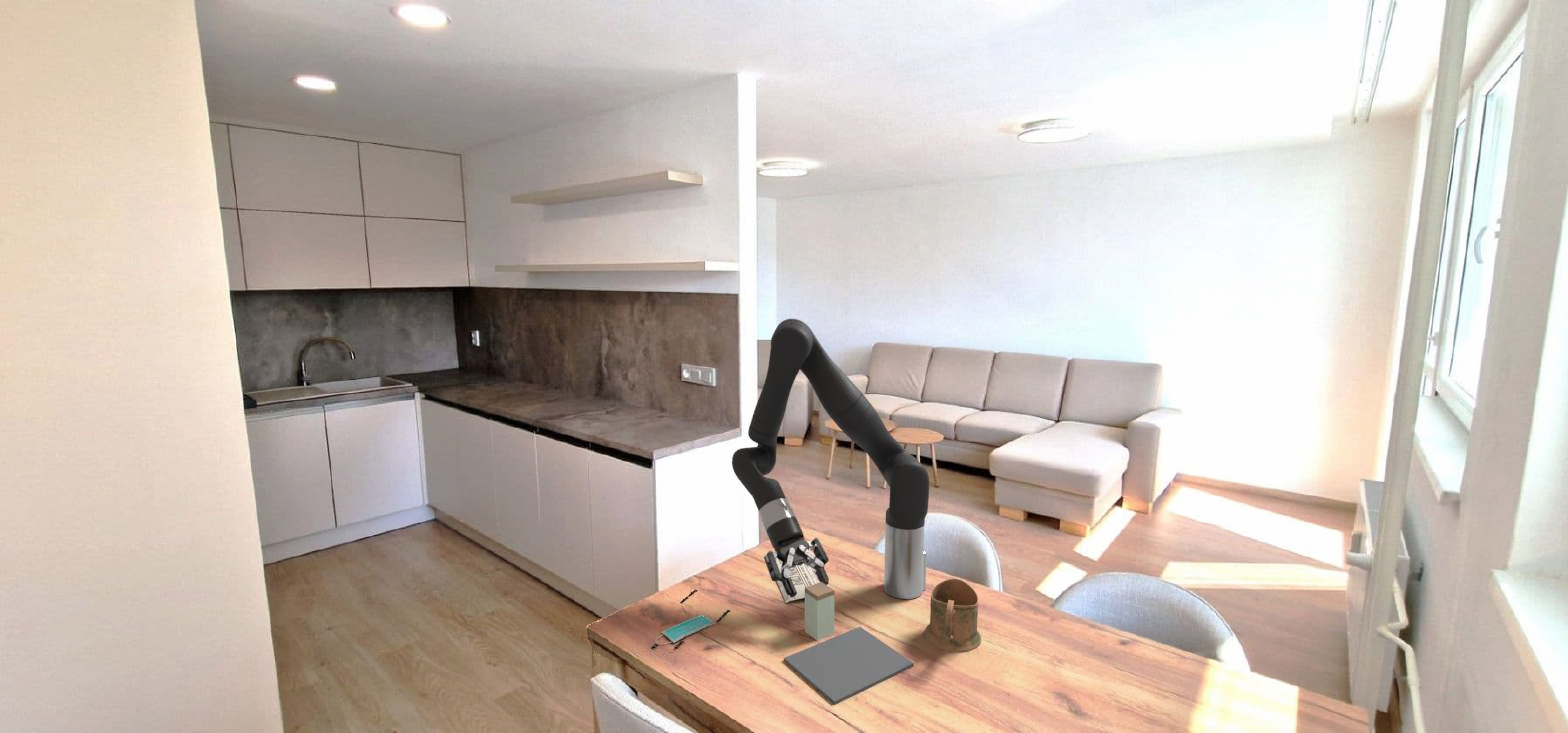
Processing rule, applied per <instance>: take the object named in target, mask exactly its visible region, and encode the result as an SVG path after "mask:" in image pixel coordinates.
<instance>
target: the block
mask: <svg viewBox="0 0 1568 733" xmlns="http://www.w3.org/2000/svg"><path fill="white" fill-rule="evenodd" d="M835 591H836V590H835V589H833V588H832V587H830V585H829V586H827V585H826V584H824V583H822V582H820V583H817V584H814V585H811V586H808V587H805V598H804V632H805V633H806V634H808V635H809V636H811V637H812V638H813V639H815V641H817V642H818V641H821V640H823V639H825V638H828V637H830V636H832V635H833V636H834V634H835V596H836V594H835Z"/></svg>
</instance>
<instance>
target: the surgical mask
mask: <svg viewBox="0 0 1568 733" xmlns="http://www.w3.org/2000/svg"><path fill="white" fill-rule="evenodd" d="M697 592H698V589H693V591H691V592H690V593H689V594H688V595H687V596H686V597H685V598H682V600H681V601H680V602H679V603H680V604H682V605H683V603H685V602H686V601H687V600H689V598H691V596H693V595H694V594H695V593H697ZM682 605H681V608H682V609H683V611H684V613H685V614H687V611H685V609H684V607H683V606H682ZM698 613H699V612H698ZM698 613H697V614H696V615H697V616H698V617H697V616H695V617H693V618H689V619H688V620H685V621H682V622H681V623H678V624H676V625H673V626H672V627H669V628H667V629H666V630H663V631H661V632H660V633H661V635H660V636H657V638H656V639H655V643H654V645H652V646H651V647H650V649H652V650H654V649H655V648H656V647H658V646H661V643H660V642H658V641H657V640H658V639H659V638H661V637H663V636H664V637H665V638H667V639H668V640H669V642H665V643H662V646H663V645H667V644H670V643H673V644H675V643H676V642H678V644H677V645H675V646H674V649H677V650H678V649H679V647H680V646H682V644H684V643H685V641H684V640H685V638H687V637H690V636H692V635H693V634H696V633H698V632H701V631H703V630H705V629H706V628H709V627H711V626H713V625H715V623H719V622H721V621H722V619H723V618H725V616H727V615H728V613H731V610H730V609H727V610H726V611H724V612H723V614H722V615H721V616H720V617H718V618H719V619H718V618H716V620H715V621H712V619H710V618H709V617H708V616H706V615H704V614H701V615H698ZM699 616H700V617H699ZM703 616H706V617H703ZM713 622H714V623H713ZM702 629H703V630H702ZM679 641H680V642H679Z"/></svg>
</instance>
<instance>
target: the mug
mask: <svg viewBox="0 0 1568 733" xmlns="http://www.w3.org/2000/svg"><path fill="white" fill-rule="evenodd" d="M929 605H930V615H929V616H930V617H929V624H927V625H926V627H925V628H924V629H925V630H924V634H925V638H926V640H927V641H928V642H929V643H930V644H932V645H933V646H935V647H937V648H939V649H941V650H944V651H948V652H955V653H965V652H966V651H967V652H971V651H973V649H974V650H976V649H977V648H978V647H979V646H980V645H981V643H982V635H981V633H980V632H979V631H978V617H979V616H978V614H979V597H978V594H977V592H976V590H975V589H974V588H973V587H972V586H971V585H970V584H968V583H967V582H966V581H964V580H962V579H959V578H949V579H946V580H944V581H943V580H942V581H941V582H939V583H937V584H936V585H935V586H934V587H933V589H932V590H931V592H930V604H929Z"/></svg>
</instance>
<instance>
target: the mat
mask: <svg viewBox="0 0 1568 733" xmlns="http://www.w3.org/2000/svg"><path fill="white" fill-rule="evenodd" d="M783 661H784V662H785V664H787V665H788V666H789V667H791V669H792V670H794V671H795V672H796V673H798V674H799V675H800V676H801V677H802V678H803V679H804V680H806V682H808V683H809V684H810V685H811V686H812V687H813V688H815V689H816V690H817V691H818V692H820V693H821V695H823V696H824V697H825V698H827V700H829V701H830V702H831V703H832V704H833V705H837V704H839V703H841V702H843V701H845V700H848V699H849V698H851V697H853V696H856V695H857V694H860V693H861V692H864V691H866V690H867V689H869V688H872V687H874V686H876V685H877V684H880V683H883V682H884V681H886V680H888V679H890V678H892V677H894V676H896V675H898V674H901V673H903V672H905V671H906V670H908V669H911V668H913V667H915V663H914V662H913V661H912V660H910V659H909V658H907V657H905V656H904V655H903V654H902V653H899V651H897V650H895V649H894V648H893V647H891V646H889V645H888V644H887V643H885V642H883V641H882V640H881V639H879V638H878V637H876V636H875V635H873V634H872V633H870V632H869V631H867V630H866V629H864V628H863V627H862V626H859V627H856V628H853V629H850V630H849V631H846V632H844V633H841V634H839V635H836V636H834V637H832V638H829V639H826V640H823V641H820V642H819V643H817V644H814V645H811V646H810V647H808V648H805V649H802V650H800V651H797V652H794V653H792V654H790V655H788V656H785V657H783Z"/></svg>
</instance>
